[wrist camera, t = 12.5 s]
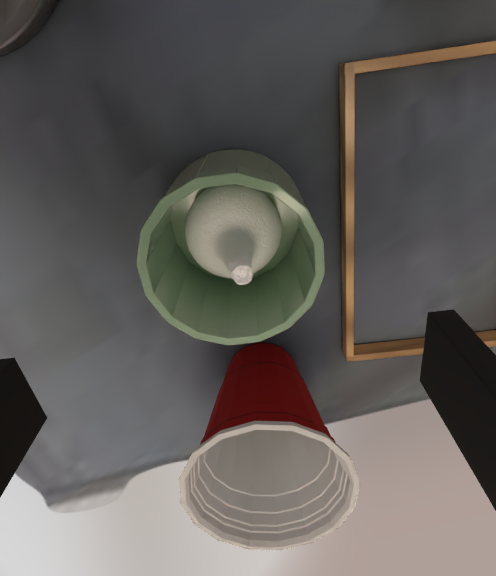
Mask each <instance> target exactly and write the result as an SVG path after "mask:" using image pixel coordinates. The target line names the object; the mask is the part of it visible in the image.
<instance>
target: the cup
mask: <svg viewBox="0 0 496 576" xmlns="http://www.w3.org/2000/svg"><path fill="white" fill-rule="evenodd" d="M230 184H239V185H242V186H246V187H250V188H253V189H257V190H261V191H263V192H265V193H266V194H267V195H268V196H269V197H270V198H271V199H272V201H273V202H274V204H275V206H276V207H277V209H278V211H279V214H280V218H281V224H282V235H281V240H280V244H279V247H278V249H277V251H276V253H275V254H274V256H273V257H272V259H271V260H270V261H269V262H268V263H267V264H266V265H265V266H264V267H263V268H262V269H260V270H258V271H257V272H255V273H253V277H252V280H251V282H249V284H245V285H239V284H237V283H236V282H235V281H234V280H233V279H232V278H226V277H221V276H217V275H215V274H212V273H210V272H208V271H207V270H205V269H204V268H202V267H201V266H200V265H199V264H198V263H197V262H196V260H195V259H194V258H193V256H192V254H191V253H190V251H189V248H188V245H187V242H186V237H185V223H186V217H187V214H188V211H189V209H190V207H191V205H192V204H193V202H194V200H195V199H196V198H197V197H198V196H199V195H200V194H201V193H202V192H203V191H204V190H206V189H207V188H209V187H215V186H222V185H230ZM136 265H137V268H138V272H139V275H140V278H141V282H142V285H143V288H144V292H145V295H146V297H147V298H148V299H149V301H150V302H151V303H152V304H153V306H154V307H155V308H156V309H157V310H158V312H159V313H160V314H161V315H162V317H163V318H164V319H165V320H166V321H167V322H168V323H169V324H171V325H173V326H175V327H176V328H178V329H180V330H181V331H183V332H185V333H186V334H188V335H190V336H191V337H193V338H195V339H199V340H204V341H208V342H213V343H218V344H223V345H237V344H246V343H255V342H261V341H263V340H265V339H268V338H270V337H272V336H274V335H276V334H278V333H280V332H283V331H285V330H287V329H289V328H290V327H291V326H292V325H293V324H294V323H295V322H296V321H297V320H298V319H299V318H300V317H301V316H302V315H303V314H304V313H305V312H306V311H307V310H308V309H309V308H310V307H311V306H312V305H313V302H314V300H315V297H316V295H317V293H318V290H319V288H320V285H321V283H322V280H323V278H324V274H325V266H324V242H323V238H322V236H321V235H320V233H319V231H318V229H317V227H316V225H315V223H314V221H313V219H312V217H311V215H310V213H309V211H308V209H307V207H306V205H305V203H304V201H303V199H302V197H301V195H300V193H299V191H298V189H297V187H296V185H295V183H294V181H293V179H292V177H291V176H290V175H289V174H288V173H287V172H286V171H285V170H284V169H283V168H281V167H280V166H279V165H278V164H277V163H275V162H274V161H272V160H271V159H270V158H268V157H265V156H263V155H261V154H258V153H256V152H252V151H248V150H241V149H227V150H220V151H216V152H212V153H209V154H207V155H205V156H203V157H201V158H199V159H197V160H196V161H194V162H193V163H192V164H190V165H189V166H187V167H186V168H184V169H183V171H182V172H181V173H180V175H179V176H178V177H177V179H176V180H175V181H174V183H173V184H172V185H171V187H170V188H169V189H168V191H167V192H166V193H165V195H164V196H163V197H162V199H161V200H160V201H159V203H158V204H157V206H156V207H155V209H154V210H153V212H152V213H151V215H150V216H149V218H148V219H147V221H146V222H145V224H144V225H143V227H142V229H141V232H140V239H139V246H138V254H137V261H136Z"/></svg>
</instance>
